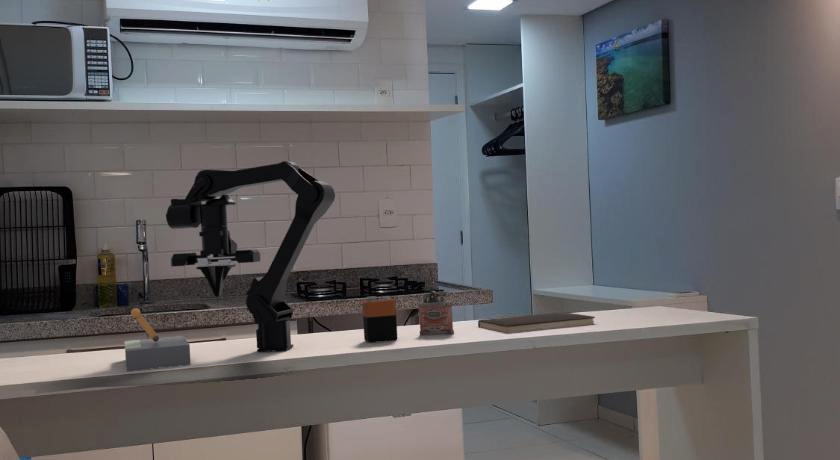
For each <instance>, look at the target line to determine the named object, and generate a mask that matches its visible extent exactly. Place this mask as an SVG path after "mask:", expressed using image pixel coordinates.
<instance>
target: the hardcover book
mask: <svg viewBox="0 0 840 460" xmlns="http://www.w3.org/2000/svg"><path fill="white" fill-rule="evenodd" d="M595 318H596V317H595V316H593V315H586V314H578V313H572V312H571V313H570V312H566V311H565V312H564V311H558V312H550V313H549V312H547V313H538V314H529V315H528V314H527V315H516V316H515V315H514V316H506V317H497V318H488V319H486V318H485V319H479V320H478V321H477V325H478V326H477V327H478V328H482V329H488V330H492V331H497V332H502V333H506V334H509V333H511V334H512V333H520V332H521V333H522V332H530V331H537V330H538V331H539V330H541V331H542V330H547V329H548V330H549V329H556V328H557V329H560V328H567V327H568V328H569V327H577V326H587V325H594V322H595V321H594V319H595Z"/></svg>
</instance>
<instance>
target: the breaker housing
mask: <svg viewBox="0 0 840 460" xmlns="http://www.w3.org/2000/svg"><path fill="white" fill-rule="evenodd" d="M190 348H191V347H190V343H189V342H188V341H187V339H186V338H185V337H184V335H177V336H167V337H159V340H158V341H157V342H155V341H153V339H152V338H146V339H145V338H144V339H134V340H133V339H132V340H124V354H125V356H124V357H125V369H126V372H134V371H135V370H136V371H143V369H145V370H152V369H151V368H154V369H160V368H159V367H164V368H170V367H169V366H173V367H179V365H182V366H189V365H188V364H191V350H190Z"/></svg>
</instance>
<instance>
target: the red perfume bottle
mask: <svg viewBox="0 0 840 460" xmlns="http://www.w3.org/2000/svg"><path fill="white" fill-rule="evenodd" d="M449 295H450V294H449V291H435V290H432V291H429V292H424V293H422V299H423V301H421V302H418V303H417V306H418V312H419V313H418V314H419V315H418V316H419V329H420V330H419V336H448V335H450V336H451V335H454V334H455V331H454V330H455V329H454V325H453V324H454V322H453V307H452V305H453V301H451V300H445V301H444V299H445V298H449Z"/></svg>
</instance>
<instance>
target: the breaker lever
mask: <svg viewBox="0 0 840 460" xmlns="http://www.w3.org/2000/svg"><path fill="white" fill-rule="evenodd" d="M140 310H141V309H139V308H135V307H134V308H133V309H132V310H130V311H131V312H130V313H131V317H132V318H134V319H136V320H137V322H138V323H139V325H140V326H141V327H142V329H144V331H145V332H146V333H147V334H148V335H149V337H150V339H153V341H155V342H157V341H158V340H159V338H160V337H159V335H158V334H157V333H156V331H154V329H153V327H151V325H150V324H149V323H148V321H147V320H146V319H145V318H144V316H143V315H142V314H141V313H142V312H141V311H140Z"/></svg>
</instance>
